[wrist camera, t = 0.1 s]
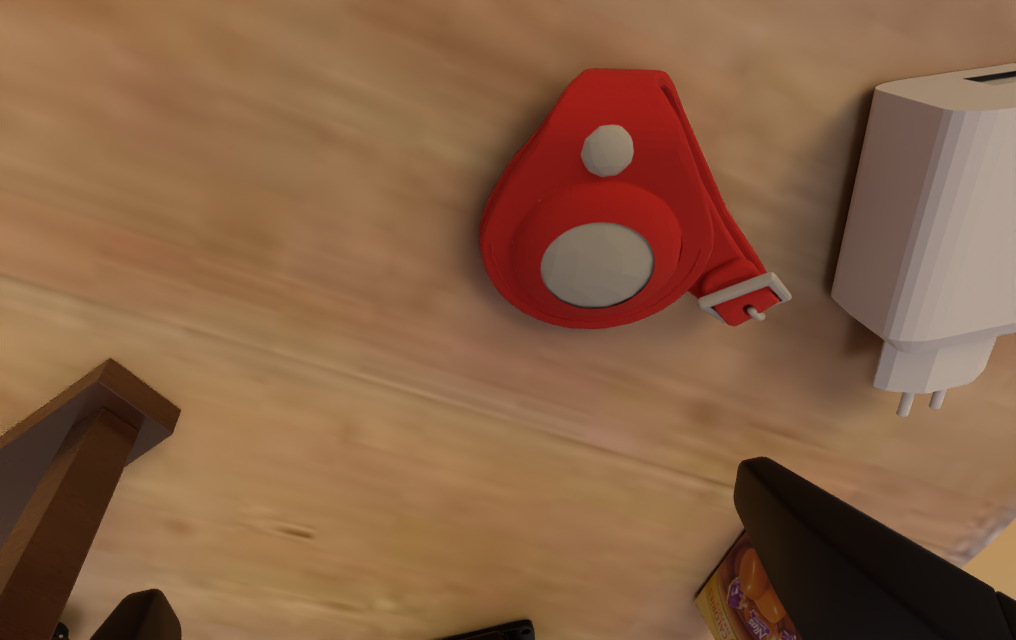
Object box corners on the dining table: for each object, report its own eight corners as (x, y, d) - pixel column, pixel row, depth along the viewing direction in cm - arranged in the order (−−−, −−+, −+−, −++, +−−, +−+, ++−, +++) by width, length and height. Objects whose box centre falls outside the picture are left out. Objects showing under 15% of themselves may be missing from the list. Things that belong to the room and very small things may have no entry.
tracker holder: (478, 354, 25) (471, 112, 17) (484, 278, 28) (480, 47, 21) (793, 363, 24) (914, 123, 17) (763, 286, 28) (855, 56, 20)
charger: (798, 399, 31) (862, 83, 23) (961, 363, 33) (1075, 52, 25) (863, 466, 27) (967, 113, 19) (1046, 422, 29) (1214, 74, 21)
